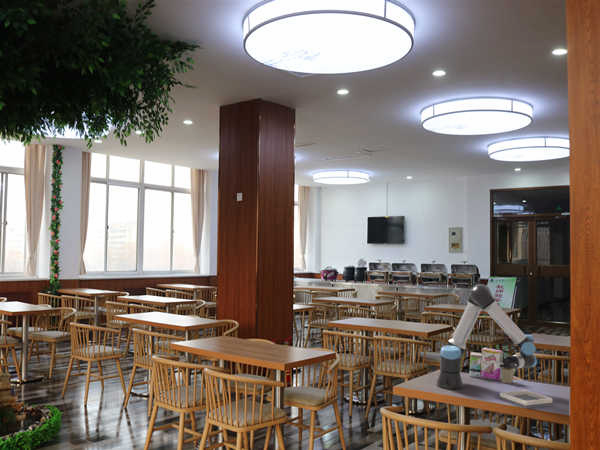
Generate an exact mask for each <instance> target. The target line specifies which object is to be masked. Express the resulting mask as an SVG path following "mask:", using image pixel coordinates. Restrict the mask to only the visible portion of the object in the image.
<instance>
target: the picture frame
mask: <svg viewBox="0 0 600 450" xmlns="http://www.w3.org/2000/svg"><path fill="white" fill-rule="evenodd" d="M499 400H502V401H504V402H507V403H510V404H512V405H516V406H518V407H521V408H523V409H531V408H532V409H533V408H540V407H549V406H553V398H552V397H548V396H545V395H543V394H539V393H536V392H533V391H530V390H526V389H523V390H522V389H521V390H515V391H514V390H513V391H502V392H499Z"/></svg>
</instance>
